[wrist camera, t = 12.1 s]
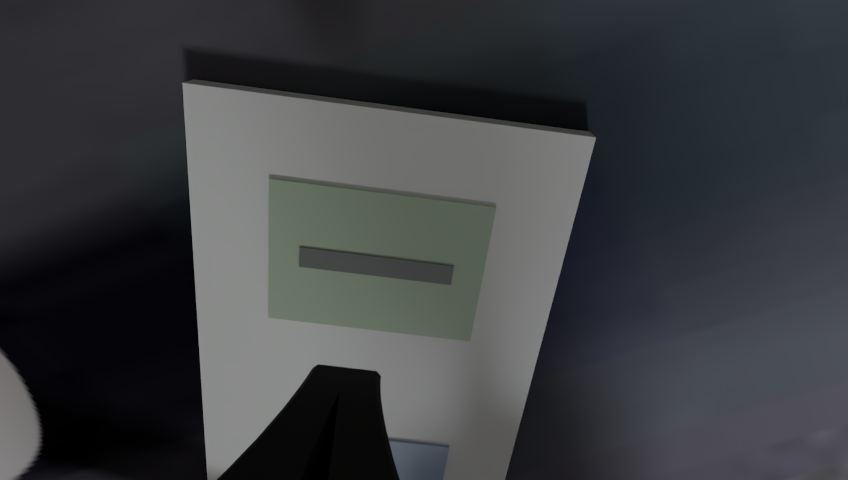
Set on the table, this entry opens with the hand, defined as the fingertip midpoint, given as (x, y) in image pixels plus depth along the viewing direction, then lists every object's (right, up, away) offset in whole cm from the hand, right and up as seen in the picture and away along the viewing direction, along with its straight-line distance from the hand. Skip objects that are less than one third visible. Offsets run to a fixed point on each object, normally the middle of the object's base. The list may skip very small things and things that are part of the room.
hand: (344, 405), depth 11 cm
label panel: (-1, -3, +9) cm, 10 cm away
